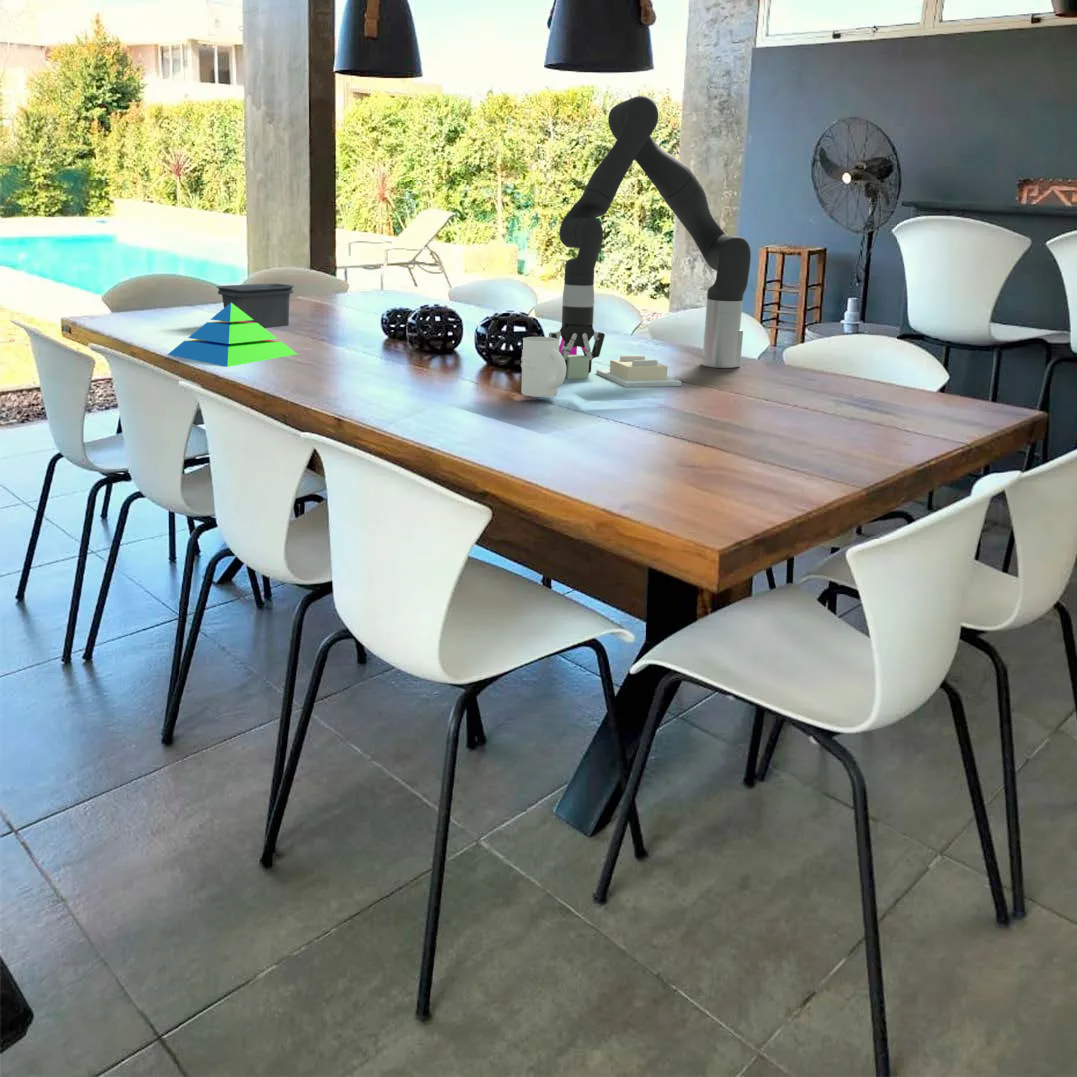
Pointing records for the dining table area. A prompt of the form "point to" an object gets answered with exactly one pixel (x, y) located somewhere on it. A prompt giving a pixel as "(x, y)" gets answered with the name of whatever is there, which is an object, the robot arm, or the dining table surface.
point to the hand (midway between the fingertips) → (575, 374)
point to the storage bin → (260, 302)
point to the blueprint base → (638, 382)
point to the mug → (542, 367)
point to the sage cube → (577, 367)
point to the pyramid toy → (231, 341)
